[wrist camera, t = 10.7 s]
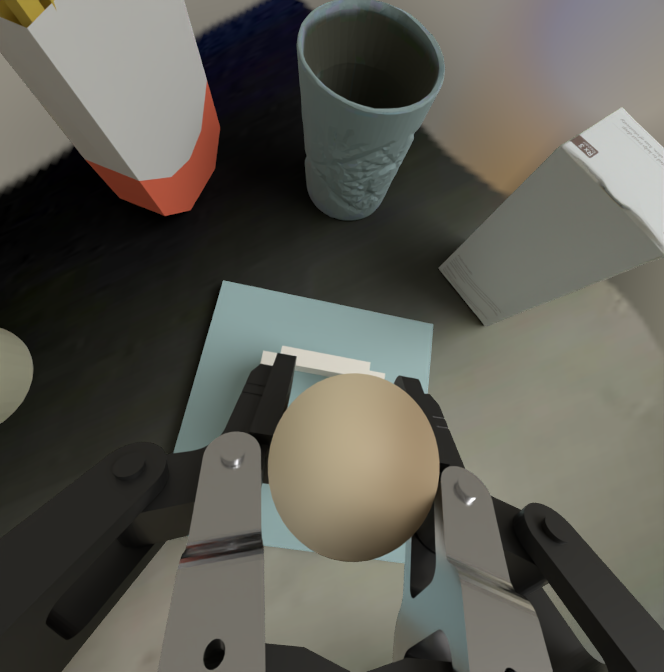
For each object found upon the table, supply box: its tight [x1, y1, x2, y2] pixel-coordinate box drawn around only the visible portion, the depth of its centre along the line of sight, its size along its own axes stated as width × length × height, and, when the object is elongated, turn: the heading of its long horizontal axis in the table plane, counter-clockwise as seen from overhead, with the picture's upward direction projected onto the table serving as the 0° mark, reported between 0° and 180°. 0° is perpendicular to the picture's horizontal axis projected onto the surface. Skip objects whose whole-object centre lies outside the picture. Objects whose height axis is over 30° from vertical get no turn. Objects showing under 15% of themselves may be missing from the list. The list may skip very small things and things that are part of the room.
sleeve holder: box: [173, 281, 433, 563], centre depth 21 cm, size 20×20×6 cm
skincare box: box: [439, 108, 664, 326], centre depth 22 cm, size 8×6×15 cm
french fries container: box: [0, 0, 220, 216], centre depth 18 cm, size 5×11×18 cm, turn 160°
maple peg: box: [268, 373, 439, 562], centre depth 11 cm, size 4×4×10 cm
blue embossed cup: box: [297, 0, 445, 220], centre depth 24 cm, size 10×10×12 cm
